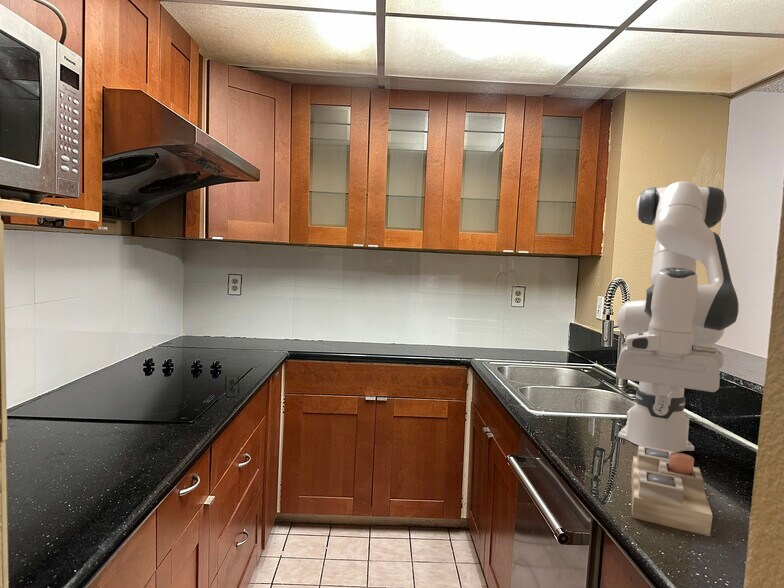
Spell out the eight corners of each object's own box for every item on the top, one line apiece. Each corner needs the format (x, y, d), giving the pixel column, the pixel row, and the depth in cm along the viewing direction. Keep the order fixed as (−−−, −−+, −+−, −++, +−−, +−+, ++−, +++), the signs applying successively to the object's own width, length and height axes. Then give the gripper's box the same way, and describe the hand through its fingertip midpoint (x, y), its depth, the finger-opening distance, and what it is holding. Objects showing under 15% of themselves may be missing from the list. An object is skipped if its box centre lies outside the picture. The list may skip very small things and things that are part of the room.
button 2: (646, 486, 108) (648, 471, 108) (671, 491, 106) (672, 477, 106) (647, 494, 104) (648, 479, 103) (672, 500, 102) (674, 485, 102)
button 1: (644, 460, 122) (645, 447, 122) (666, 464, 121) (667, 451, 120) (645, 467, 118) (646, 453, 118) (667, 471, 117) (668, 458, 116)
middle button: (667, 464, 113) (669, 450, 113) (691, 469, 111) (693, 455, 111) (669, 471, 109) (670, 457, 109) (693, 477, 107) (695, 462, 107)
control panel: (631, 472, 126) (634, 443, 125) (694, 485, 121) (698, 455, 120) (631, 517, 103) (635, 482, 102) (709, 536, 98) (714, 499, 97)
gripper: (722, 346, 116) (714, 409, 117) (619, 334, 124) (613, 393, 126) (727, 351, 110) (719, 417, 112) (619, 338, 118) (613, 400, 120)
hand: (662, 404), depth 119 cm, fingers closed
